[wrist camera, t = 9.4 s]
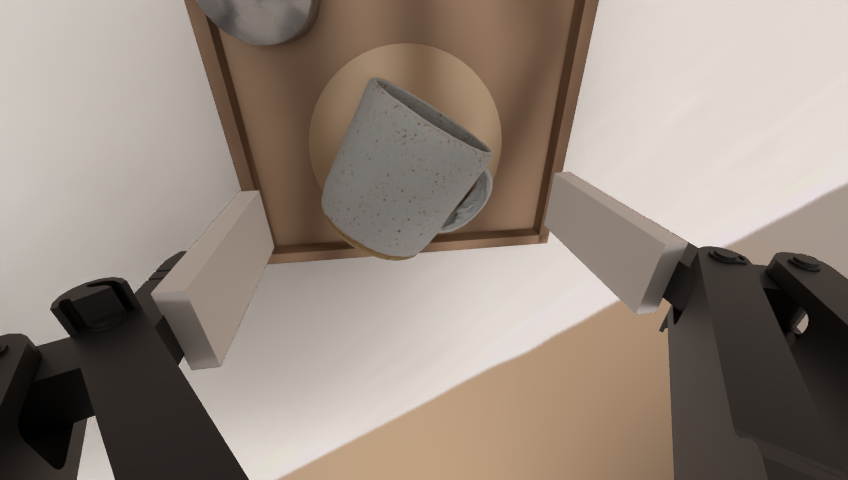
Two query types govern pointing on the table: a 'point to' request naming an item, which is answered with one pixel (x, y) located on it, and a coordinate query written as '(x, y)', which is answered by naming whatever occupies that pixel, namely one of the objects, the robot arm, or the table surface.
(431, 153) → the ceramic mug
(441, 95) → the tray
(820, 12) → the table surface
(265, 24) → the sugar tin
